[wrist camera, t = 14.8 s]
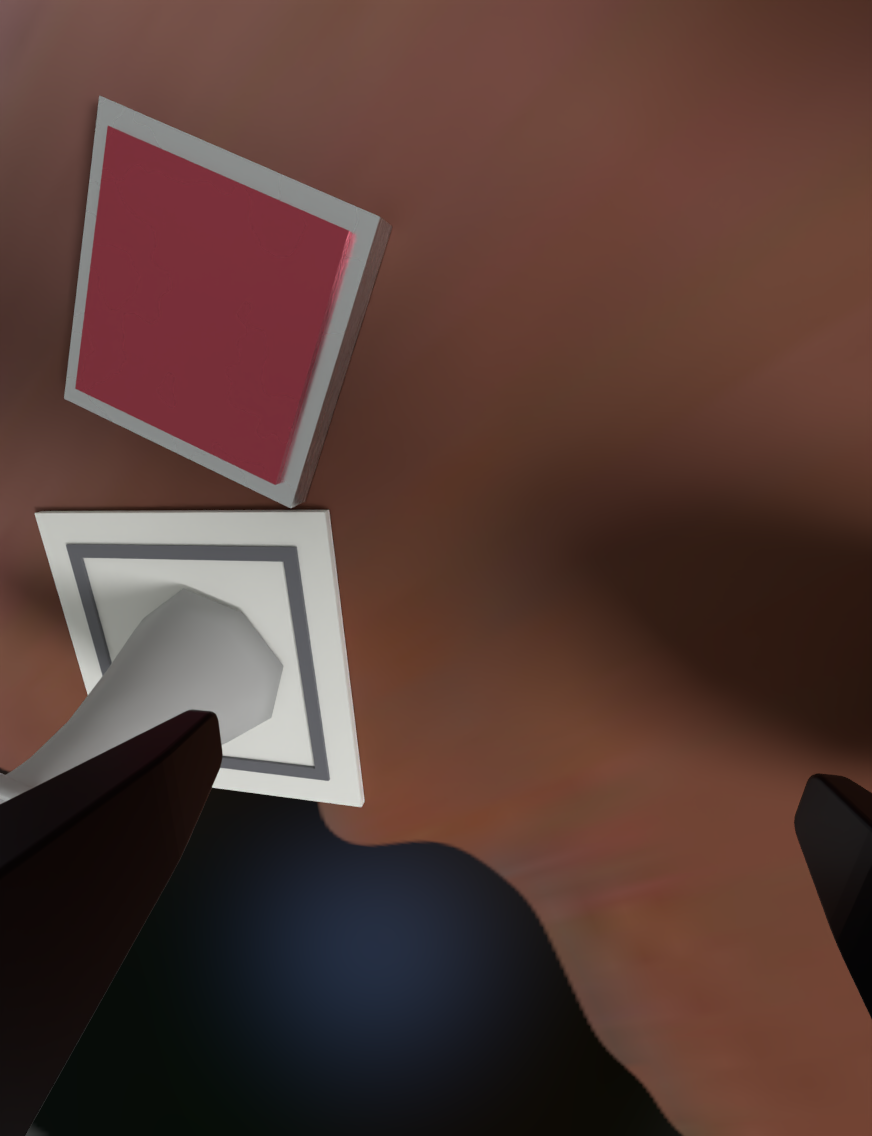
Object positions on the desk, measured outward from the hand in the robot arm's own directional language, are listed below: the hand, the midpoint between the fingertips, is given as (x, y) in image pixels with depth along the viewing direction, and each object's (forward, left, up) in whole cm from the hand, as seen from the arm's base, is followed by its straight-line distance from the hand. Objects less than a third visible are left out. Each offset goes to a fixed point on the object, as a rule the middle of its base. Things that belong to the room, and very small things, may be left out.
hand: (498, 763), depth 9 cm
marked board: (0, +16, -13) cm, 21 cm away
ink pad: (+12, +8, -13) cm, 19 cm away
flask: (0, +16, -12) cm, 20 cm away
